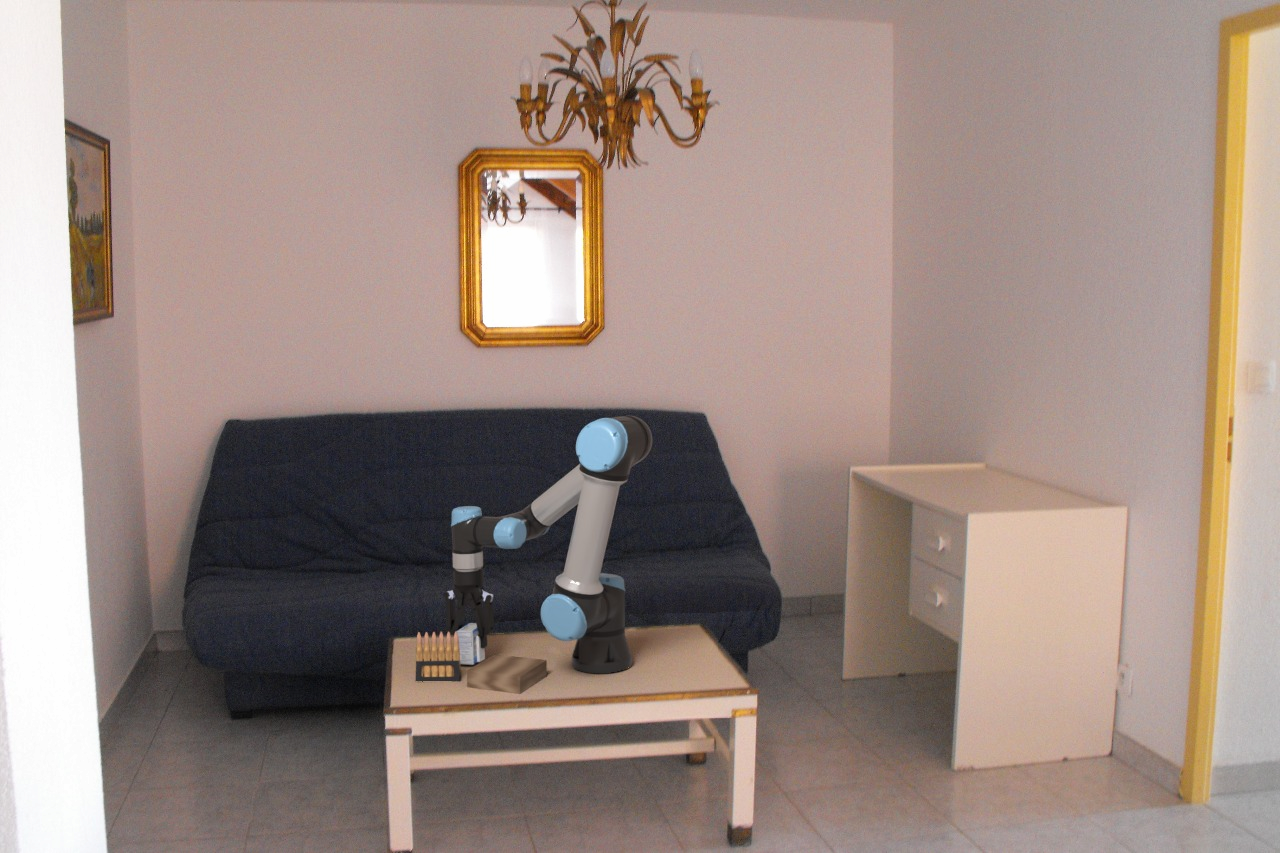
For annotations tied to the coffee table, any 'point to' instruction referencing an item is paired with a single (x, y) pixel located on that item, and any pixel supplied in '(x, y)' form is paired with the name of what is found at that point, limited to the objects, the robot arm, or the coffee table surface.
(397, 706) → the coffee table surface
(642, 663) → the coffee table surface
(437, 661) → the ammunition clip
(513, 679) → the walnut base
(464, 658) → the medicine box
